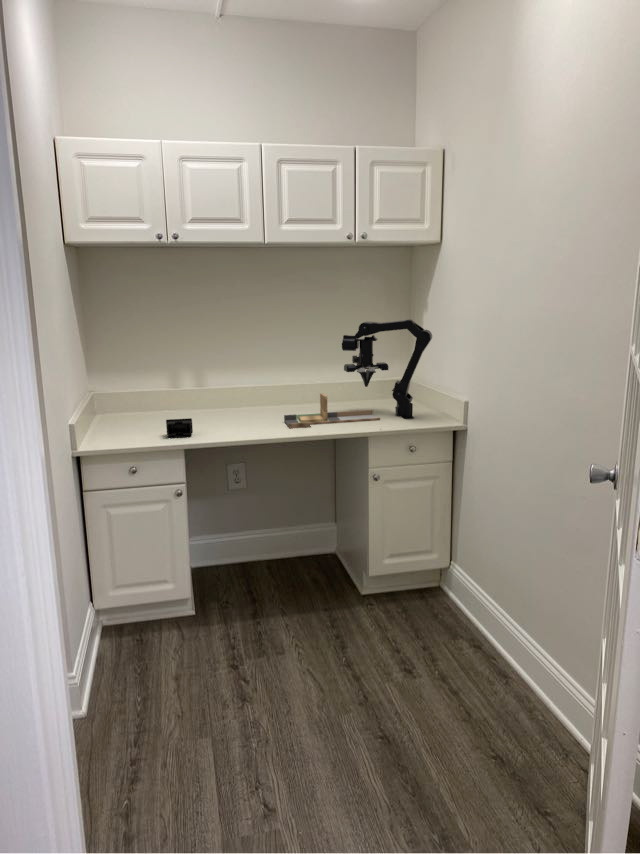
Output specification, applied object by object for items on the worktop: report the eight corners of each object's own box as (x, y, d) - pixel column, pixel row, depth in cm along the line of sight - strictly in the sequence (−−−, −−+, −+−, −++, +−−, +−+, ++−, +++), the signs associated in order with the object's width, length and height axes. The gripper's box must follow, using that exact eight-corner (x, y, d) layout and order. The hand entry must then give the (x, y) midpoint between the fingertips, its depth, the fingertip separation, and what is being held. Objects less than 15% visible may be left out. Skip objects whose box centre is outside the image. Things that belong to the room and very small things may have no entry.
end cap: (192, 433, 267) (191, 416, 266) (192, 437, 260) (191, 420, 259) (167, 434, 266) (166, 418, 264) (166, 438, 259) (165, 422, 257)
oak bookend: (323, 418, 284) (323, 393, 282) (327, 422, 278) (327, 396, 275) (298, 420, 282) (298, 394, 279) (301, 423, 275) (301, 397, 273)
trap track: (371, 416, 292) (371, 409, 291) (379, 421, 281) (379, 414, 280) (284, 421, 284) (284, 415, 283) (288, 427, 273) (288, 420, 272)
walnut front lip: (379, 421, 281) (379, 417, 281) (380, 422, 280) (380, 418, 279) (288, 427, 273) (288, 423, 273) (289, 428, 272) (289, 424, 271)
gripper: (381, 348, 296) (381, 382, 299) (340, 349, 292) (340, 384, 296) (389, 351, 285) (388, 386, 289) (347, 352, 281) (347, 389, 285)
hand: (366, 386), depth 290 cm, fingers closed
